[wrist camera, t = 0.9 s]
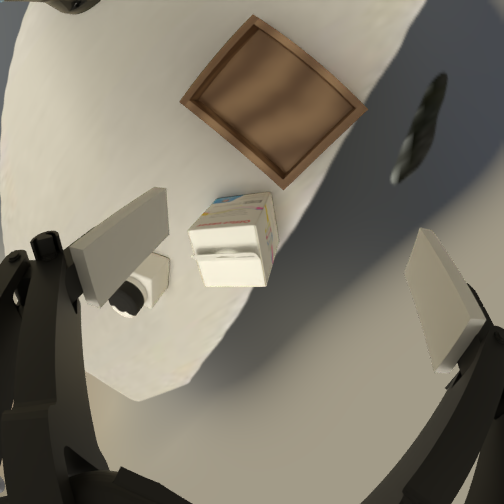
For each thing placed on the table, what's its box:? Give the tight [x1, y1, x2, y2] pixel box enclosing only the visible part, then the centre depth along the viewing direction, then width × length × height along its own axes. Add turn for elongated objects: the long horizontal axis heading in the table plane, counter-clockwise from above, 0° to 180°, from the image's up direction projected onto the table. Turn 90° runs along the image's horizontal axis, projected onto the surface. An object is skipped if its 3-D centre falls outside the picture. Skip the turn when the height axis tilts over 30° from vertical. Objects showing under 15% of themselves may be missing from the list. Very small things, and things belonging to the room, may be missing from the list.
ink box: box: [187, 192, 279, 287], centre depth 38 cm, size 9×8×13 cm
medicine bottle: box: [108, 253, 169, 317], centre depth 48 cm, size 7×7×12 cm
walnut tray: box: [180, 15, 368, 190], centre depth 32 cm, size 18×15×4 cm
